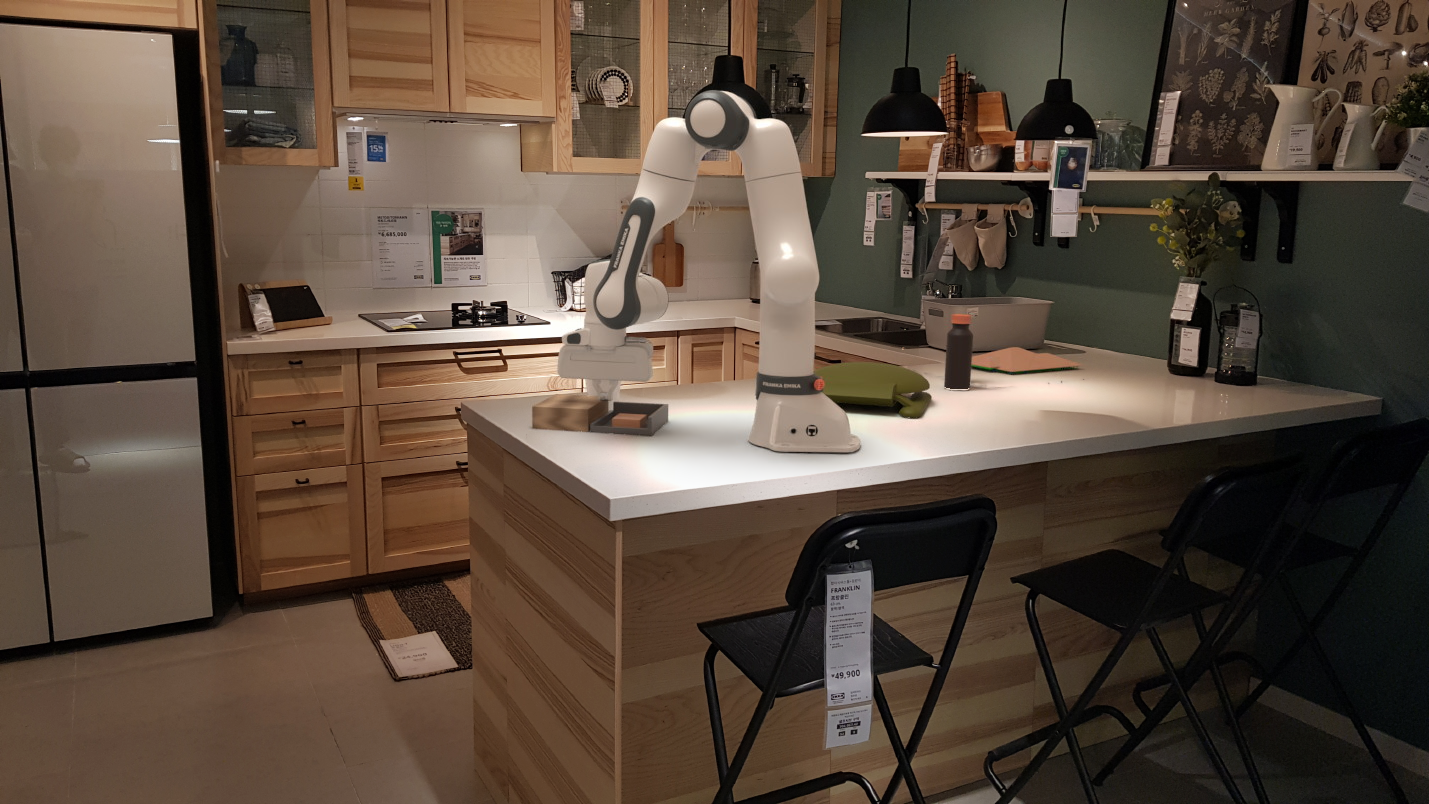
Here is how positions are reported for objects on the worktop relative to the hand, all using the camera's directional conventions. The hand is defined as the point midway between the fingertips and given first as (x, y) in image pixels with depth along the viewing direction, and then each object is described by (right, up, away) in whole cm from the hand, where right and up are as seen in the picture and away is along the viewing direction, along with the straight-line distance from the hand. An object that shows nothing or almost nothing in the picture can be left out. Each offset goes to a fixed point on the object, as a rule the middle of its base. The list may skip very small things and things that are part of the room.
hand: (605, 400), depth 230 cm
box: (+5, -6, 0) cm, 8 cm away
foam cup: (-2, -3, +18) cm, 18 cm away
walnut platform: (-7, -5, +2) cm, 9 cm away
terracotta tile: (+5, -3, 0) cm, 6 cm away
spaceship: (+60, -1, +37) cm, 71 cm away
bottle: (+88, +3, +59) cm, 106 cm away
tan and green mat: (+113, +8, +93) cm, 147 cm away
